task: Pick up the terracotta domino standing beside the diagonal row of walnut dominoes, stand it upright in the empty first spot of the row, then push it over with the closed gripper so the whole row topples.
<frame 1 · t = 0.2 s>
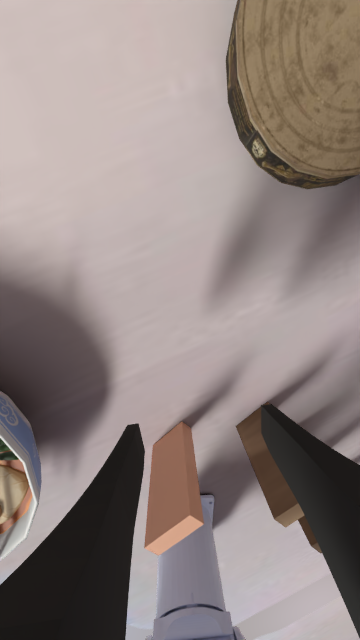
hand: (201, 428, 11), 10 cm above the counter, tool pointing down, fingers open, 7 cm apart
tan flat round piece: (323, 74, 15), on the counter
domino head: (171, 436, 24), on the counter
domino 2: (255, 417, 24), on the counter
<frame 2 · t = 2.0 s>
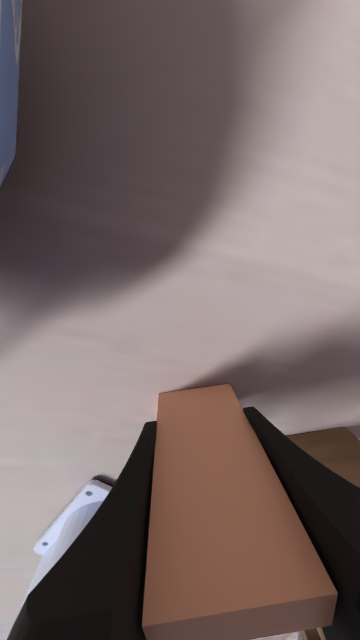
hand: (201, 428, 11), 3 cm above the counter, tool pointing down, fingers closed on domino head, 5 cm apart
domino head: (195, 398, 14), on the counter, touching gripper
domino 2: (313, 439, 15), on the counter
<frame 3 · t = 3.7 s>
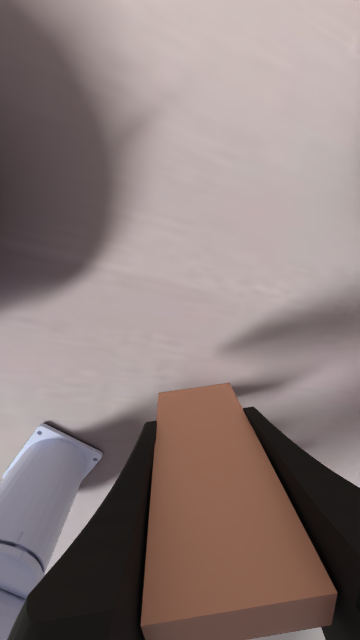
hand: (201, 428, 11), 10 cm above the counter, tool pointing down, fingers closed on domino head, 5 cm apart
domino head: (195, 397, 14), point 7 cm above the counter, touching gripper
when the fingers open (4 cm above the counter, at t = 5.8 s): domino head drops 1 cm, on the counter.
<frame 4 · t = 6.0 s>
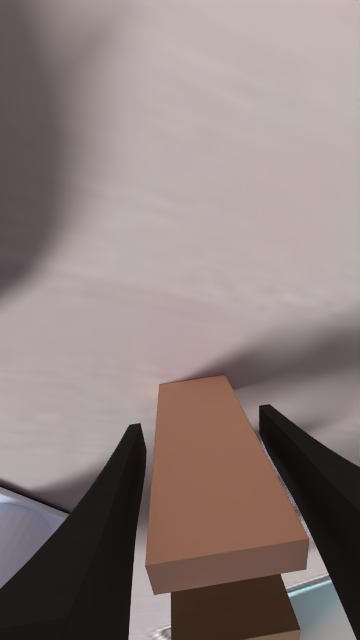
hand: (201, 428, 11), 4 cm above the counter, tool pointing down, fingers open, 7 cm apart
domino head: (193, 388, 15), on the counter
domino 2: (200, 444, 16), on the counter
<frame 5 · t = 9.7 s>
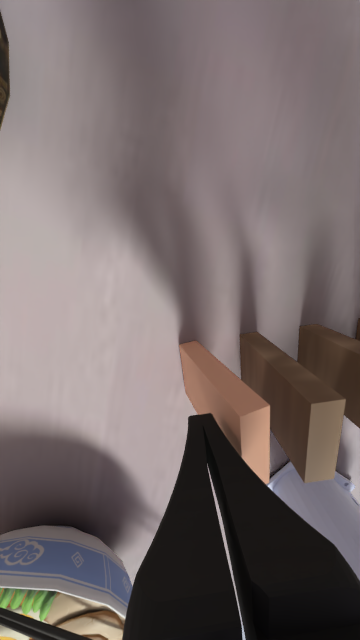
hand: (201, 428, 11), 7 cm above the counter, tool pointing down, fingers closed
ramen bowl: (62, 541, 24), on the counter
domino head: (190, 367, 18), on the counter, tilted 14°
domino 2: (249, 358, 18), on the counter
domino 3: (306, 350, 18), on the counter
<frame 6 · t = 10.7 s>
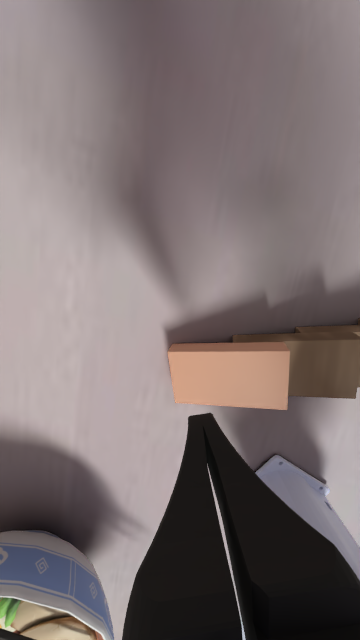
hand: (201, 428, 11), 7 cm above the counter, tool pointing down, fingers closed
ramen bowl: (37, 546, 24), on the counter
domino head: (173, 373, 17), point 1 cm above the counter, tilted 73°, touching domino 2
domino 2: (234, 364, 17), point 1 cm above the counter, tilted 74°, touching domino 3, domino head
domino 3: (296, 356, 17), point 1 cm above the counter, tilted 74°, touching domino 2, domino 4
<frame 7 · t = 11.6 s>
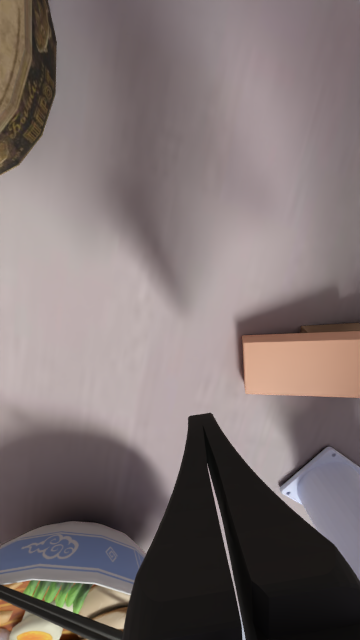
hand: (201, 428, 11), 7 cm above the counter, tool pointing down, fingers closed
ramen bowl: (86, 538, 24), on the counter
domino head: (243, 364, 17), point 1 cm above the counter, tilted 74°, touching domino 2
domino 2: (303, 354, 17), point 1 cm above the counter, tilted 74°, touching domino 3, domino head
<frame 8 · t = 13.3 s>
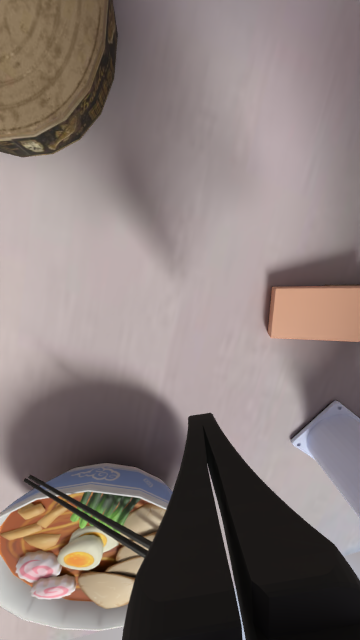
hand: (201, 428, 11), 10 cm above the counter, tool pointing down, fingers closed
ramen bowl: (115, 487, 26), on the counter
tan flat round piece: (7, 29, 14), on the counter
domino head: (271, 312, 20), point 1 cm above the counter, tilted 74°
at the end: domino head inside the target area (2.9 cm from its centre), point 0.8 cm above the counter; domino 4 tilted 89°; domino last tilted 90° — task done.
